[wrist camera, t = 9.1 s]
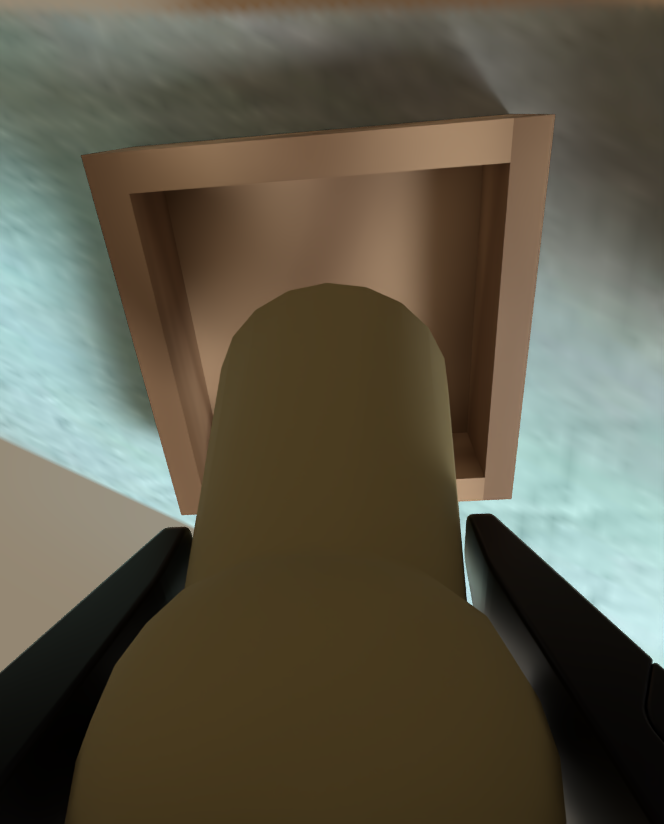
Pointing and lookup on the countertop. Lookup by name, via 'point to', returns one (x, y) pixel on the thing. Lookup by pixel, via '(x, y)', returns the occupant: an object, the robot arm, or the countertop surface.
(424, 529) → the cork
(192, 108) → the countertop surface
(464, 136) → the box
